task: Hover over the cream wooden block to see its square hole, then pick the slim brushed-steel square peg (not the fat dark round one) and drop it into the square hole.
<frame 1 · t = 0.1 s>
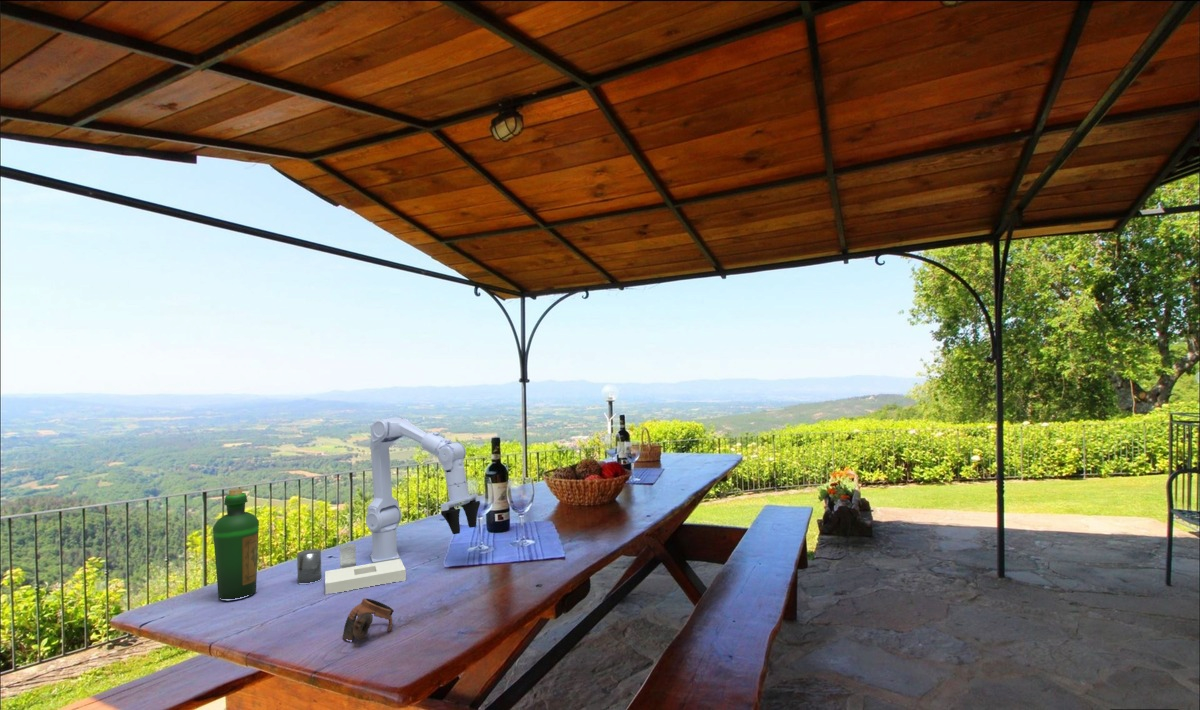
hand: (464, 530, 170), 11 cm above the table, tool pointing down, fingers open, 7 cm apart
brown curved piece: (366, 636, 124), on the table
square steel peg: (348, 574, 168), on the table
cream socket block: (365, 581, 160), on the table
round dark peg: (309, 580, 163), on the table
bottle: (237, 597, 153), on the table
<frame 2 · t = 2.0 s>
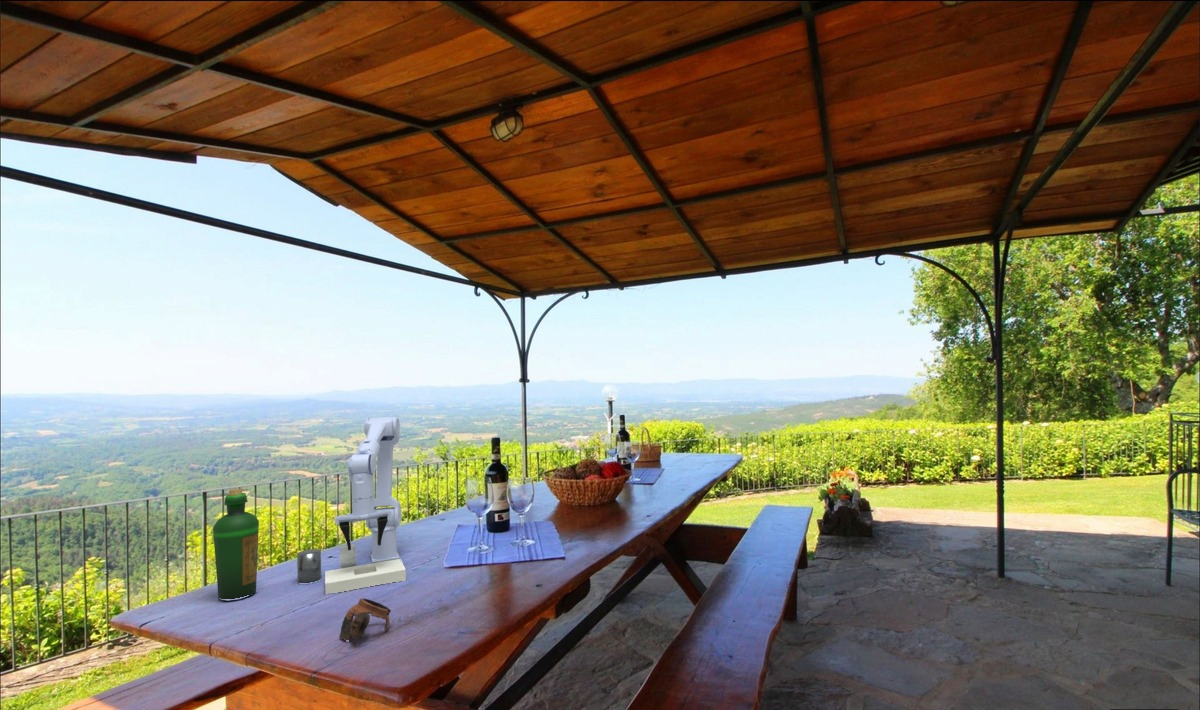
hand: (364, 546, 161), 9 cm above the table, tool pointing down, fingers open, 7 cm apart
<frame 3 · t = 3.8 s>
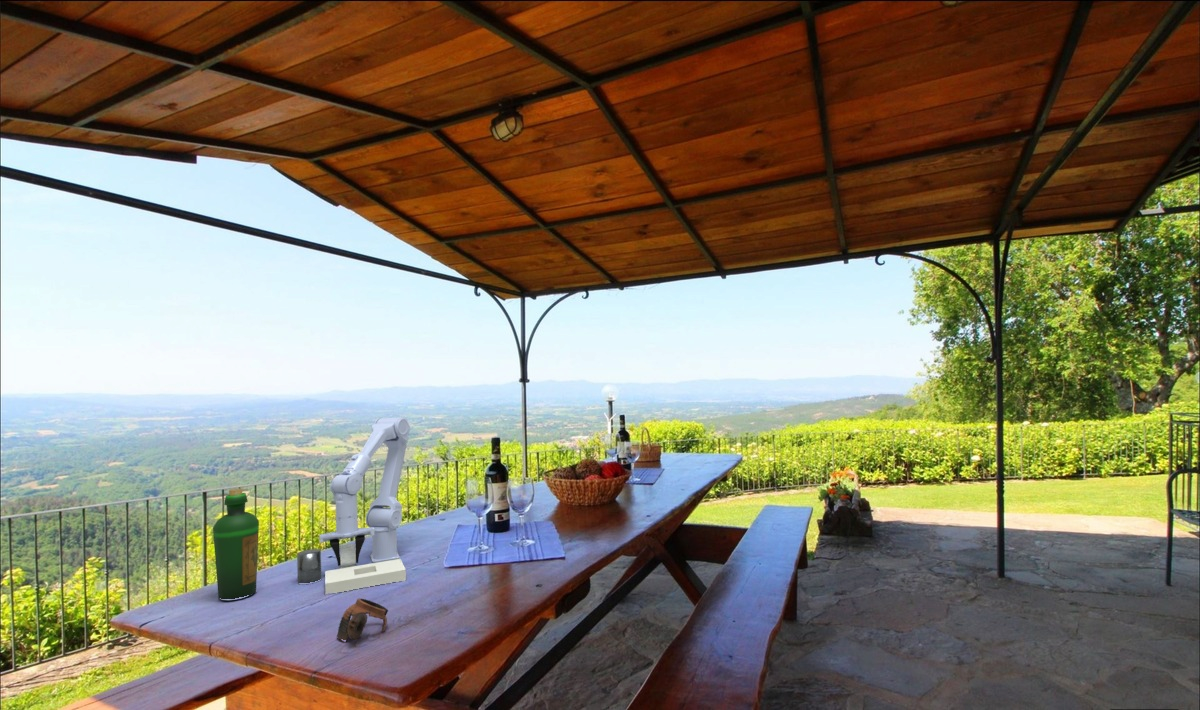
hand: (348, 563, 168), 3 cm above the table, tool pointing down, fingers closed on square steel peg, 4 cm apart
square steel peg: (348, 574, 168), on the table, touching gripper
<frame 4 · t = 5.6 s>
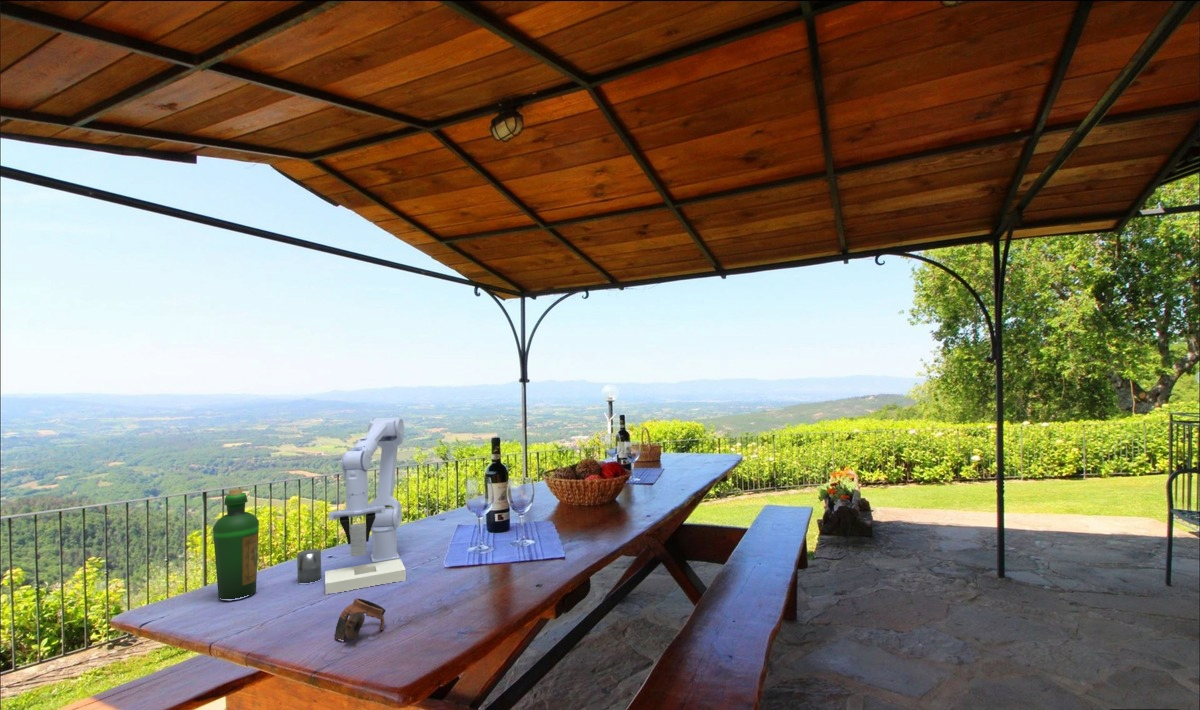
hand: (358, 542, 163), 10 cm above the table, tool pointing down, fingers closed on square steel peg, 4 cm apart
square steel peg: (358, 553, 163), point 7 cm above the table, touching gripper
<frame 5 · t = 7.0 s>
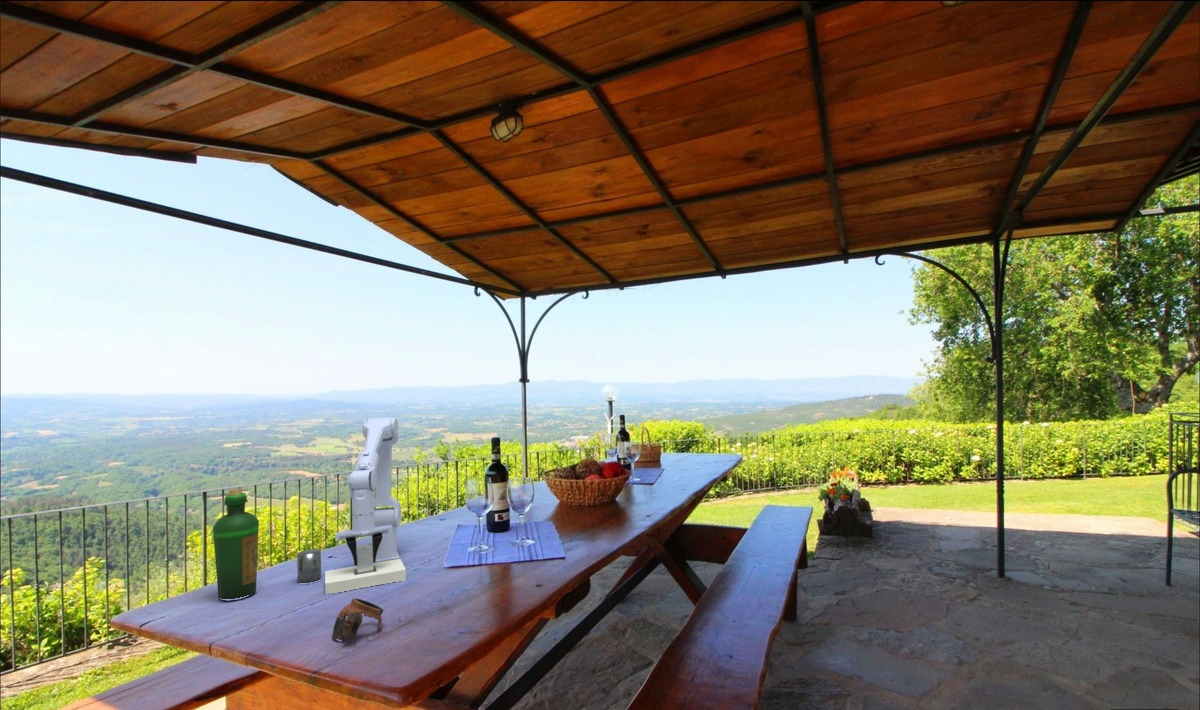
hand: (364, 563, 161), 5 cm above the table, tool pointing down, fingers closed on square steel peg, 4 cm apart
square steel peg: (365, 574, 161), point 2 cm above the table, touching gripper
when the fingers open (4 cm above the table, at t = 7.7 s): square steel peg stays where it is, resting in cream socket block.
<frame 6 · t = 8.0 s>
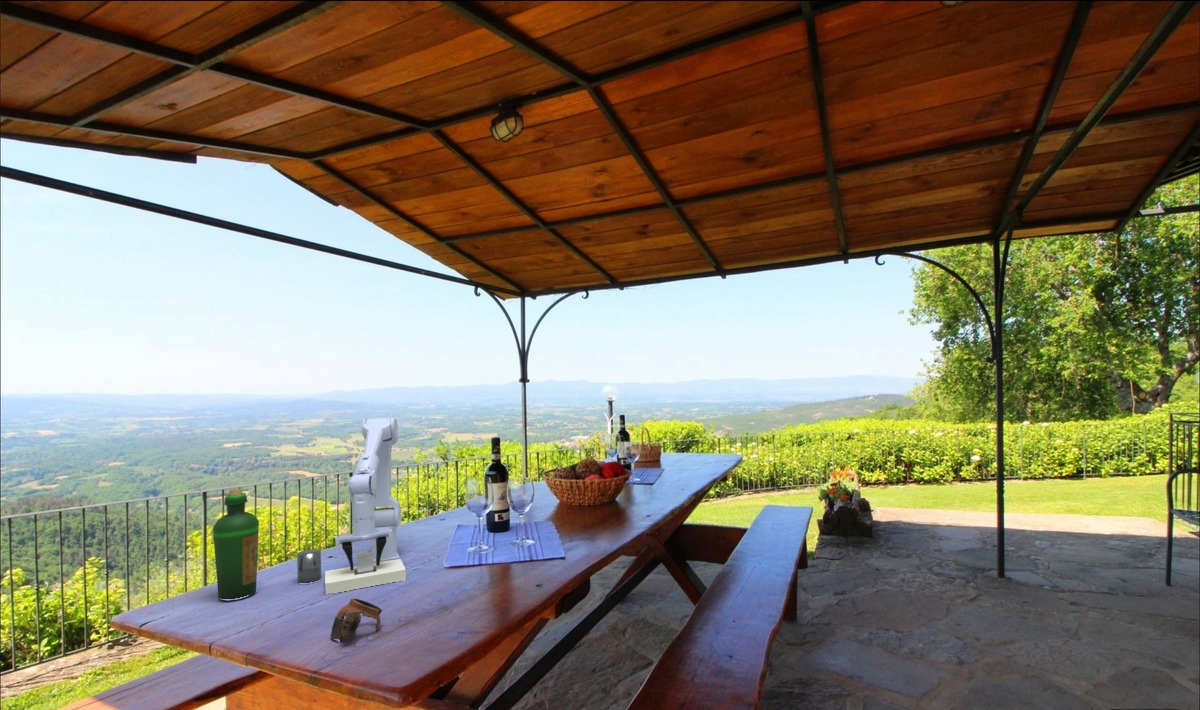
hand: (365, 567, 161), 4 cm above the table, tool pointing down, fingers open, 6 cm apart
square steel peg: (365, 581, 161), resting in cream socket block
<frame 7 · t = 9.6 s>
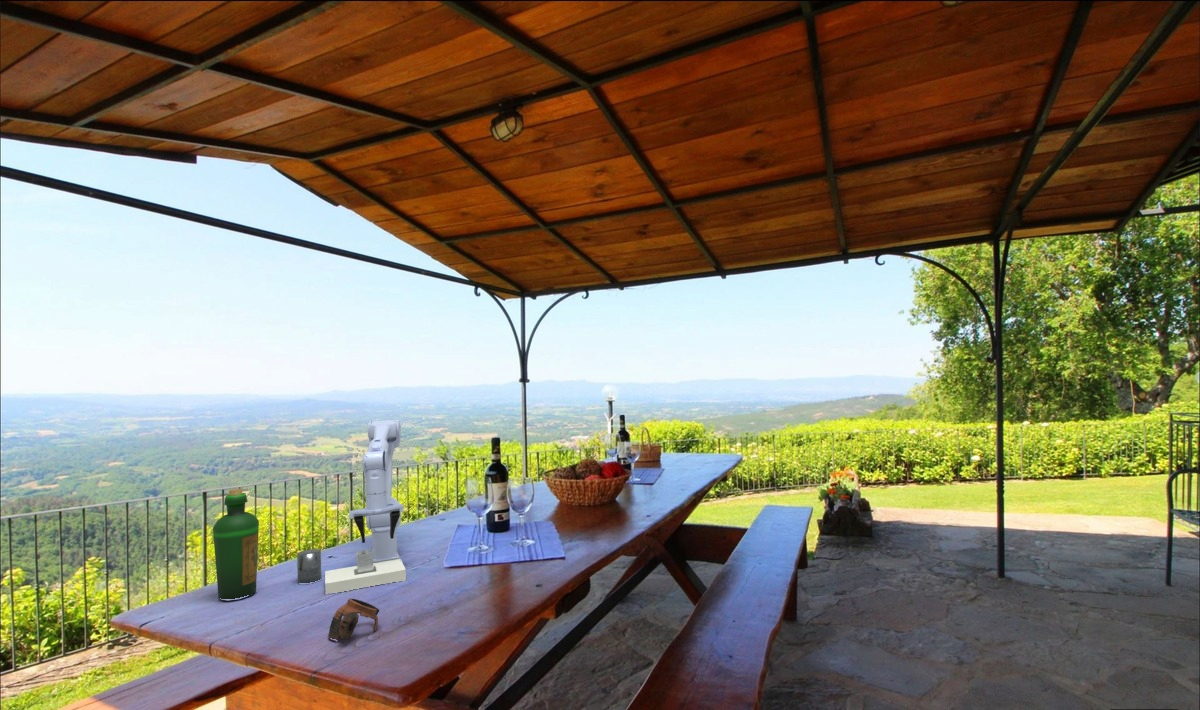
hand: (377, 540, 168), 9 cm above the table, tool pointing down, fingers open, 7 cm apart
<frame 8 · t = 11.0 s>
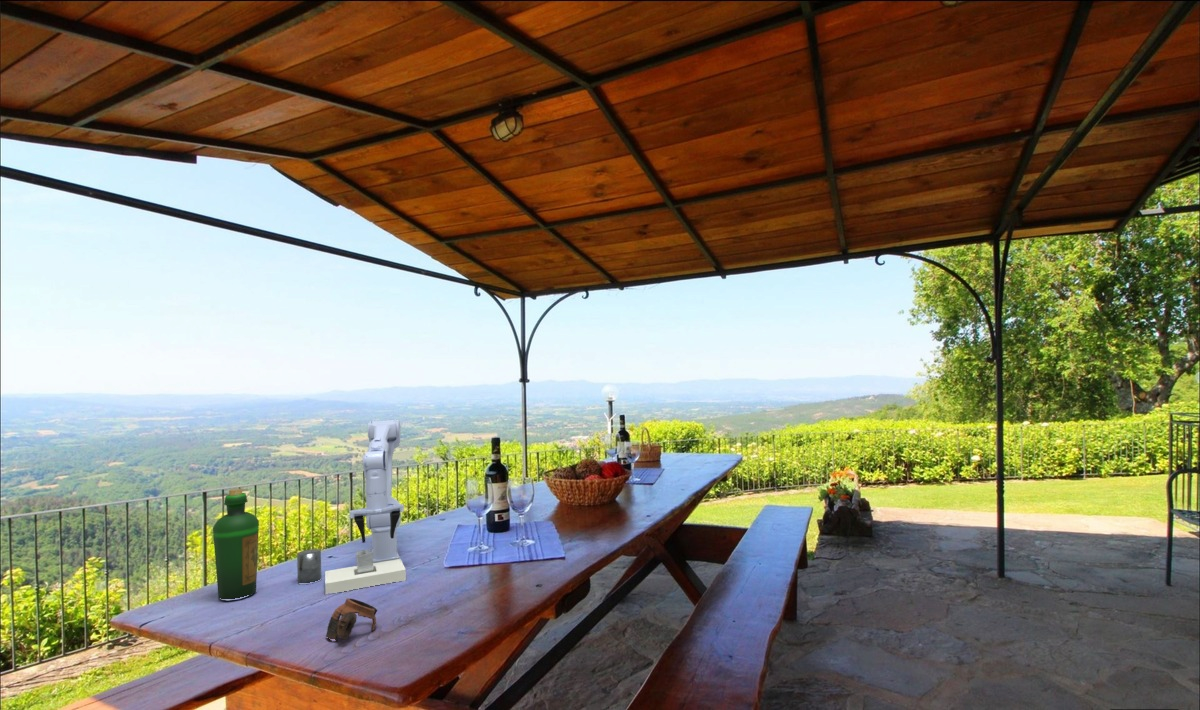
hand: (378, 539, 168), 9 cm above the table, tool pointing down, fingers open, 7 cm apart
at the end: square steel peg 0.2 cm off-centre on the cream socket block, point 0.0 cm above the cream socket block's base; square steel peg tilted 0°; round dark peg moved 0.0 cm from its start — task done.
